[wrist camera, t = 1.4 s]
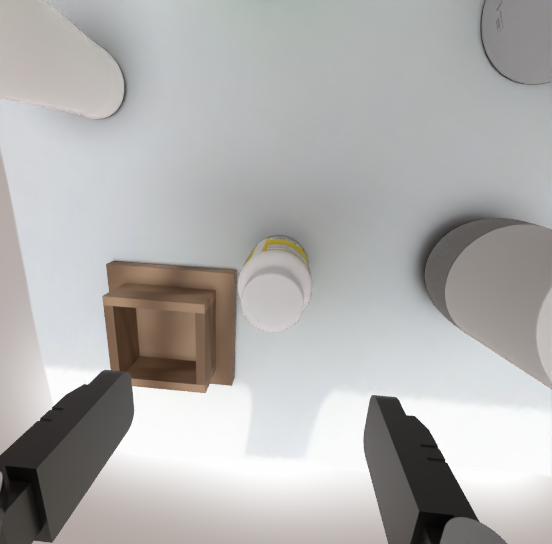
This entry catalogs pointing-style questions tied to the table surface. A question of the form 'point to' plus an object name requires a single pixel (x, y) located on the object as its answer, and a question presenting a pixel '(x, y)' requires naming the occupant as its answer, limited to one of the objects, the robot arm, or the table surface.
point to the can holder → (171, 324)
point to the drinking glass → (54, 62)
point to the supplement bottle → (275, 284)
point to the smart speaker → (498, 289)
